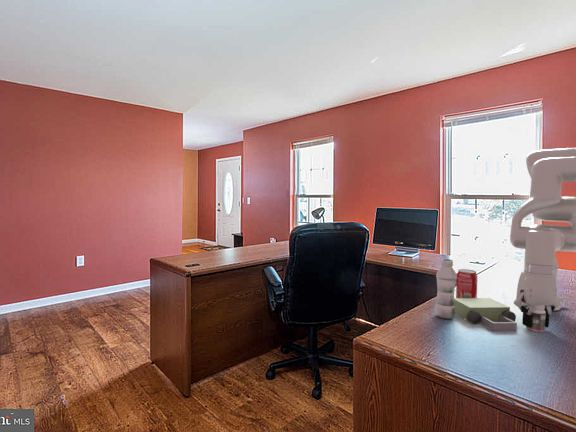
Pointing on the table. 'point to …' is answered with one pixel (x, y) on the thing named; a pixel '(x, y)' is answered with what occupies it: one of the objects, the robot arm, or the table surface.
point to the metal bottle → (445, 290)
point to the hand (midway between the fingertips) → (535, 325)
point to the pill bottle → (538, 318)
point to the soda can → (466, 284)
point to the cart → (486, 313)
